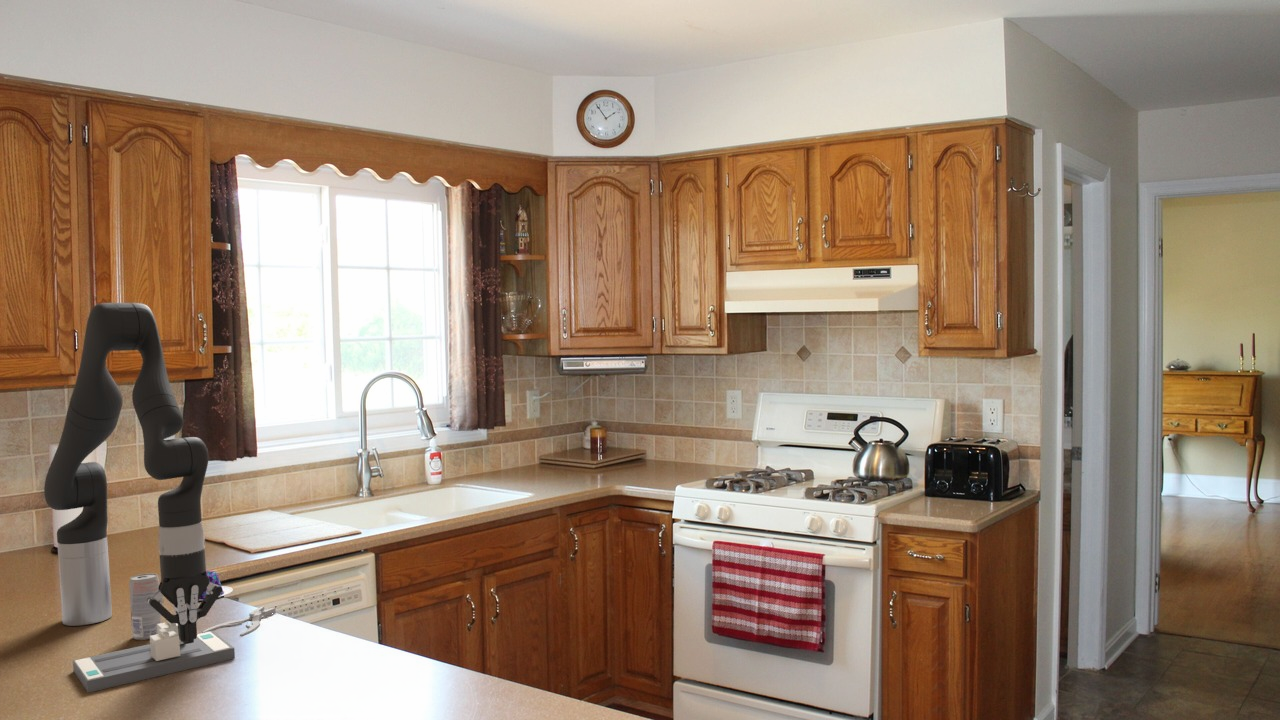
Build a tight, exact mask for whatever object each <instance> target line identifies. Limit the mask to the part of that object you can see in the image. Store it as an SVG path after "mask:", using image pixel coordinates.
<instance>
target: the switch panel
mask: <svg viewBox="0 0 1280 720" xmlns="http://www.w3.org/2000/svg"><path fill="white" fill-rule="evenodd" d="M235 653H236V652H235V647H234V646H233V645H232V644H230V643H229V642H228V641H226V640H225V639H224V638H223V637H222V636H220V635H219V634H217V633H216V632H215V631H214V630H212V631H209V632H204V633H202V632H200V633H197V637H196V639H194V643H189V644H180V656H177V657H172V658H168V659H163V660H159V661H156V660H155V659H154V658H153V657H152V656H151V649H150V643H149V644H144V645H139V646H134V647H131V648H126V649H120V650H116V651H111V652H106V653H102V654H97V655H94V656H88V657H82V658H78V659H74V660H72V668H73V673H74V674H75V676H76V677H77V678H78V680H79V682H80V683H81V684H82V686H83V687H84V689H85V691H86V692H87V693H88V694H89V693H93V692H96V691H101V690H104V689H105V690H106V689H109V688H113V687H118V686H123V685H127V684H131V683H135V682H140V681H144V680H148V679H153V678H157V677H161V676H165V675H170V674H174V673H178V672H184V671H187V670H191V669H197V668H201V667H204V666H208V665H209V666H210V665H212V664H218V663H222V662H226V661H229V660H234V658H236V655H235Z"/></svg>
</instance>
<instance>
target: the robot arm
mask: <svg viewBox="0 0 1280 720" xmlns="http://www.w3.org/2000/svg"><path fill="white" fill-rule="evenodd" d="M153 313H154V312H153V311H152V310H151V308H150V307H149V306H148V305H146V304H145V303H141V302H102V303H97V304H95V305H94V306H93V307H92V308H91V310H90V312H89V314H88V318H87V322H86V327H85V331H84V340H83V345H82V352H81V359H80V364H79V369H78V372H77V377H76V381H75V384H74V387H73V390H72V394H71V396H70V399H69V404H68V407H67V412H66V415H65V420H64V425H63V429H62V432H61V436H60V440H59V442H58V445H57V447H56V451H55V453H54V456H53V459H52V461H51V462H50V465H49V468H48V471H47V473H46V475H45V481H44V488H43V490H44V491H43V493H44V494H43V495H44V499H45V502H46V504H47V505H48V506H49V508H51V509H52V510H55V511H67V510H74V509H80V508H82V511H81V513H79V515H78V516H76V517H75V518H74V519H72V520H71V521H69V522H67V523H66V524H64V525H62V526H60V527H59V528H58V529H57V530H56V541H57V556H58V570H59V584H60V585H59V587H60V601H61V616H62V617H61V618H62V619H61V620H62V624H63V625H64V626H70V627H72V626H73V627H74V626H76V627H77V626H87V625H91V624H96V623H100V622H103V621H106V620H108V619H110V618H112V617H113V612H112V611H113V610H112V609H113V608H112V590H111V577H110V575H111V574H110V561H109V548H108V547H109V546H108V545H109V544H108V530H107V529H108V520H109V519H108V481H107V476H106V475H107V474H106V472H105V469H104V467H103V466H102V464H100V463H99V462H96V461H90V462H84V463H83V461H84V460H85V459H87V457H88V456H89V455H91V453H92V452H94V451H95V450H96V449H97V448H99V447H100V446H101V445H102V444H103V443H104V442H105V441H106V440H108V438H109V437H110V436H111V435H112V434H113V432H114V431H115V429H116V427H117V424H118V421H119V419H120V414H121V411H122V407H123V402H124V401H123V395H122V392H121V390H120V388H119V386H118V384H117V382H116V381H115V380H114V378H113V377H112V374H111V373H110V371H109V370H108V367H107V358H108V355H109V353H110V352H119V351H122V352H123V351H124V352H126V351H138V352H139V354H140V357H141V358H142V365H141V368H140V370H139V374H138V376H137V378H136V380H135V383H134V386H133V387H132V388H133V389H132V399H131V400H132V405H133V408H134V411H135V414H136V416H137V419H138V421H139V425H140V427H141V430H142V431H141V432H142V437H143V438H142V439H143V463H144V464H143V465H144V469H145V471H146V472H147V474H148V475H149V476H150V477H151V478H153V479H154V480H158V481H163V480H171V479H177V478H179V479H180V478H182V480H181V482H180V484H179V486H177V487H176V488H174V489H171V490H169V491H166V492H164V493H162V494H160V495H159V497H158V498H157V499H158V500H157V511H158V523H159V524H158V526H159V527H158V529H159V530H158V550H159V567H160V581H159V587H158V589H159V591H158V592H157V593H156V594H154V595H153V596H152V597H149V598H148V599H147V603H149V604H150V605H151V606H152V607H153V608H154V609H155V610H156V611H157V612H158V613H160V614H161V617H163V618H164V619H165V621H166V620H167V621H169V622H170V623H177V624H178V635H179V639H180V641H182V642H183V643H184V644H189V643H194V639H196V637H197V634H198V629H197V627H198V626H197V622H198V620H199V619H201V618H205V617H206V616H207V615H208V613H209V612H210V610H211V608H212V607H213V605H214V604H215V602H216V601H217V599H218V598H219V596H221V595H220V593H221V592H222V588H221V587H220V586H218V585H217V584H213V583H211V582H210V579H209V577H208V576H207V574H206V571H207V564H206V559H207V558H206V547H205V546H206V539H205V533H204V531H205V530H204V529H203V528H204V526H203V522H202V520H203V518H202V504H201V503H202V502H201V500H202V491H203V487H204V482H205V478H206V474H207V473H206V472H207V469H208V467H209V466H208V465H209V458H210V457H209V456H210V455H209V450H208V448H207V445H206V443H205V442H204V441H203V439H201V438H200V437H195V436H190V437H189V436H188V437H179V438H171V437H173V436H175V435H177V434H178V433H179V432H181V430H183V427H184V423H185V422H184V417H183V415H182V412H181V410H180V408H179V405H178V402H177V400H176V397H175V395H174V392H173V389H172V387H171V384H170V380H169V376H168V372H167V366H166V362H165V356H164V351H163V347H162V341H161V337H160V333H159V329H158V325H157V321H156V317H155V316H154V314H153ZM169 438H170V439H169ZM206 588H207V590H206ZM205 590H206V593H207V595H206V596H205V598H204V599H203V600H201V602H200V604H199V601H198V600H199V599H200V598H201V596H202V595H203V593H204V591H205ZM163 597H165V599H166V600H167V601H168V602H170V604H172V605H173V609H174V612H175V614H173V613H171V612H170V611H169V610H168V609H167V608H165V607H164V605H163V604H164V603H165V601H164V599H163Z"/></svg>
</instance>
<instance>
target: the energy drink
mask: <svg viewBox="0 0 1280 720" xmlns="http://www.w3.org/2000/svg"><path fill="white" fill-rule="evenodd" d="M128 585H129V586H128V587H129V603H130V604H129V605H130V615H131V616H130V620H131V635H132V638H133V639H134V640H136V641H145V640H150V636H151V635H156V634H158V632H157V624H159V623H163V622H162V615H161V614H160V613H158V612H157V611H156V610H155V609H154V608H153V607H152V606H151V605H150V604H149V603H147V599H148V598H149V597H152V596H153V595H154V594H156V593H157V592H158V591H159V589H158V587H159V585H160V578H159V576H158V574H157V573H154V572H153V573H150V572H149V573H140V574H136V575H134V576H131V577H130V578H129V581H128Z"/></svg>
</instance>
